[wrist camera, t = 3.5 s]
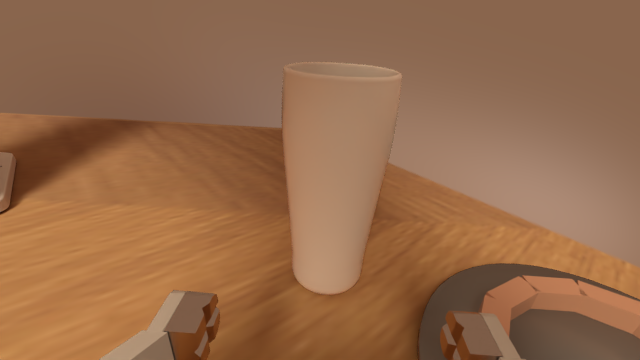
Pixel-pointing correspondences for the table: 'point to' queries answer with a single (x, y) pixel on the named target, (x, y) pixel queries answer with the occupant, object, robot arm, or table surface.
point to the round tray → (538, 313)
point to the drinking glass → (335, 164)
